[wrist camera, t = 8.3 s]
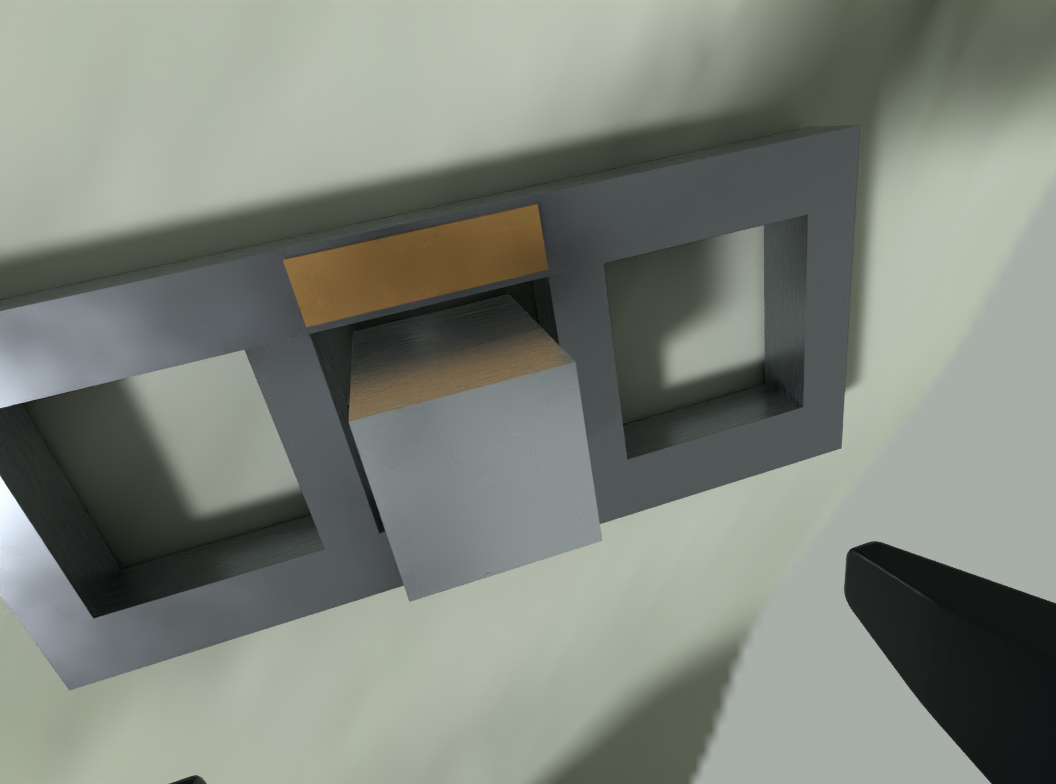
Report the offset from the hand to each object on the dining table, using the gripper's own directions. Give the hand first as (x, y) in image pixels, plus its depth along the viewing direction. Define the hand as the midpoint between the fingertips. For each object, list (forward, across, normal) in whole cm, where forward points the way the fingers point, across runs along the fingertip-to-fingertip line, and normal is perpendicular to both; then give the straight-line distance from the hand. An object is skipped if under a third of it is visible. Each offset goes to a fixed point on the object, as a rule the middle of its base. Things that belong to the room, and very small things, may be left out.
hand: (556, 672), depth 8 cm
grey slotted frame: (+11, 0, 0) cm, 11 cm away
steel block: (+11, 0, 0) cm, 11 cm away
